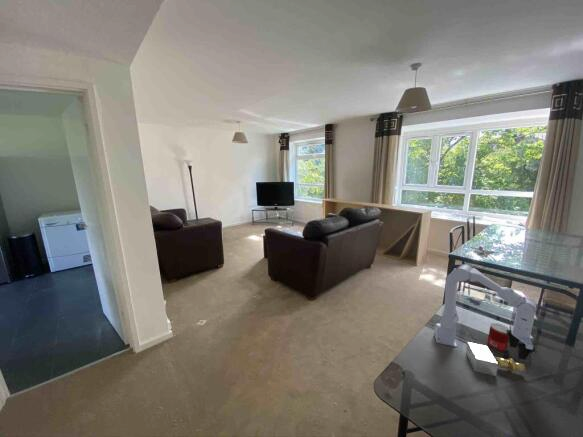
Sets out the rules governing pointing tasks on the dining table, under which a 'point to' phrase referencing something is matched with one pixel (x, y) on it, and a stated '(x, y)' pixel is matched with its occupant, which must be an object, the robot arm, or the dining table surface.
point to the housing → (481, 359)
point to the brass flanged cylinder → (510, 364)
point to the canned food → (498, 337)
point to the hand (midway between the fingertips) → (517, 352)
